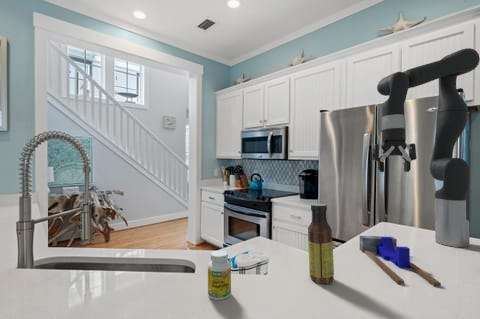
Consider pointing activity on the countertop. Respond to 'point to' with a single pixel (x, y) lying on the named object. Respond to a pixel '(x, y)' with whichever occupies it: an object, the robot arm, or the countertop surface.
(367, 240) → the guide channel
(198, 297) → the countertop surface
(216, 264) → the supplement bottle
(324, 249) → the sauce bottle
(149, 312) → the countertop surface
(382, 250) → the cable clip
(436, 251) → the countertop surface
